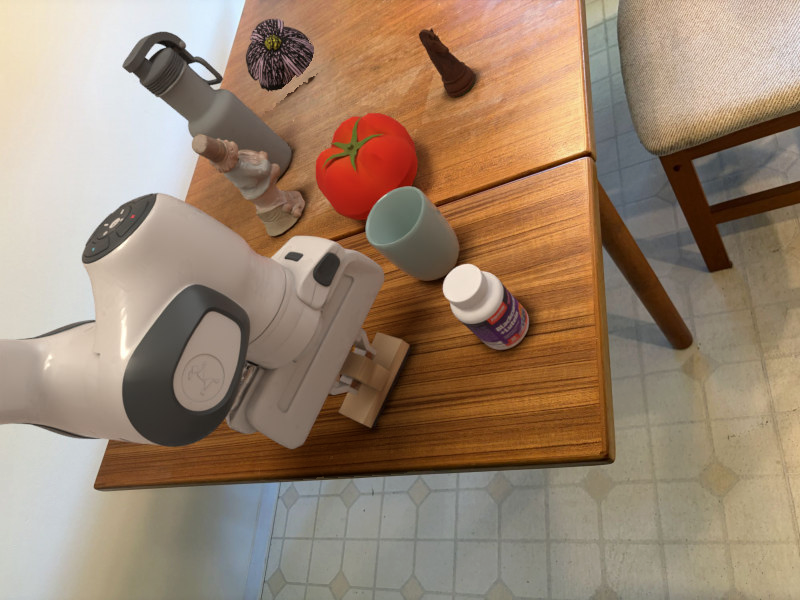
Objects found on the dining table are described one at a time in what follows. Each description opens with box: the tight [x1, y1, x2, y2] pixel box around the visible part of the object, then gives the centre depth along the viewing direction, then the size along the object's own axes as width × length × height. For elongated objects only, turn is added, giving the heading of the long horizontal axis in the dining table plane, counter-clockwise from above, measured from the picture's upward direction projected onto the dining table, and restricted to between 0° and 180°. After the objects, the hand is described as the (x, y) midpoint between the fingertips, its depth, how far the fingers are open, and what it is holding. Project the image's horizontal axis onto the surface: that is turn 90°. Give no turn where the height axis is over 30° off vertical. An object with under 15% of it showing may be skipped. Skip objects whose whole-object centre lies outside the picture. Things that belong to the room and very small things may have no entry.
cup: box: [365, 186, 460, 282], centre depth 63 cm, size 8×8×10 cm
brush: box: [338, 331, 412, 429], centre depth 61 cm, size 10×5×7 cm, turn 151°
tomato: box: [315, 112, 419, 221], centre depth 76 cm, size 14×16×10 cm
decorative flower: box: [245, 18, 315, 92], centre depth 109 cm, size 14×12×15 cm
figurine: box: [191, 134, 306, 237], centre depth 83 cm, size 9×8×20 cm
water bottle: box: [121, 31, 292, 181], centre depth 91 cm, size 10×10×28 cm
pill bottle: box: [442, 263, 530, 351], centre depth 54 cm, size 5×5×10 cm
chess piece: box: [418, 27, 476, 98], centre depth 77 cm, size 5×5×10 cm
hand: (363, 371), depth 61 cm, fingers closed on brush, 2 cm apart
